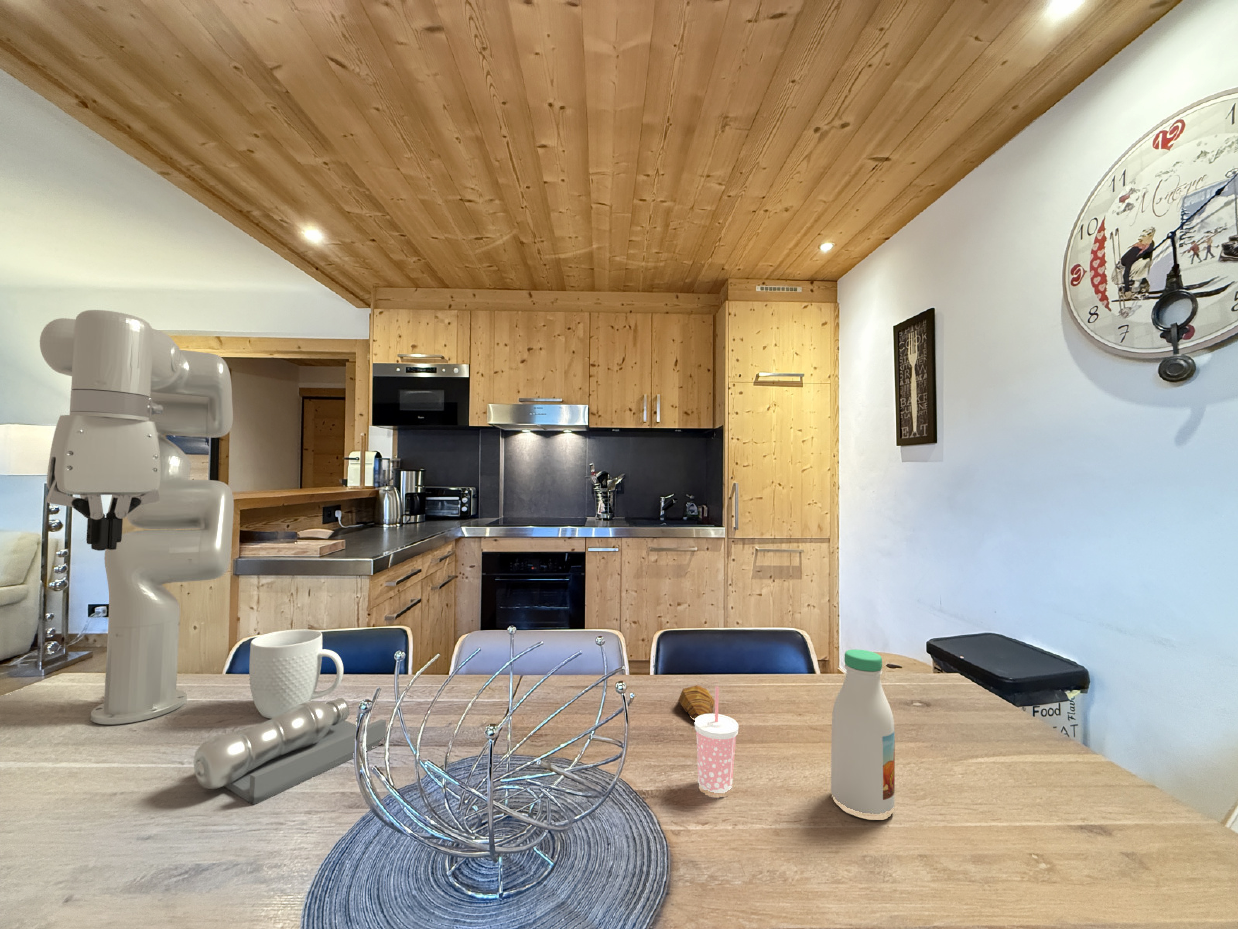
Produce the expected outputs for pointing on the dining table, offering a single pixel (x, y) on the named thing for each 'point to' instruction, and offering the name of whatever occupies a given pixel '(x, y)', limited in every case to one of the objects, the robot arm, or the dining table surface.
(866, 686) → the milk bottle
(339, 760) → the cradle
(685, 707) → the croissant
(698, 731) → the beverage cup
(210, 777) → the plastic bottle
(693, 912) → the dining table surface
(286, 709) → the mug
